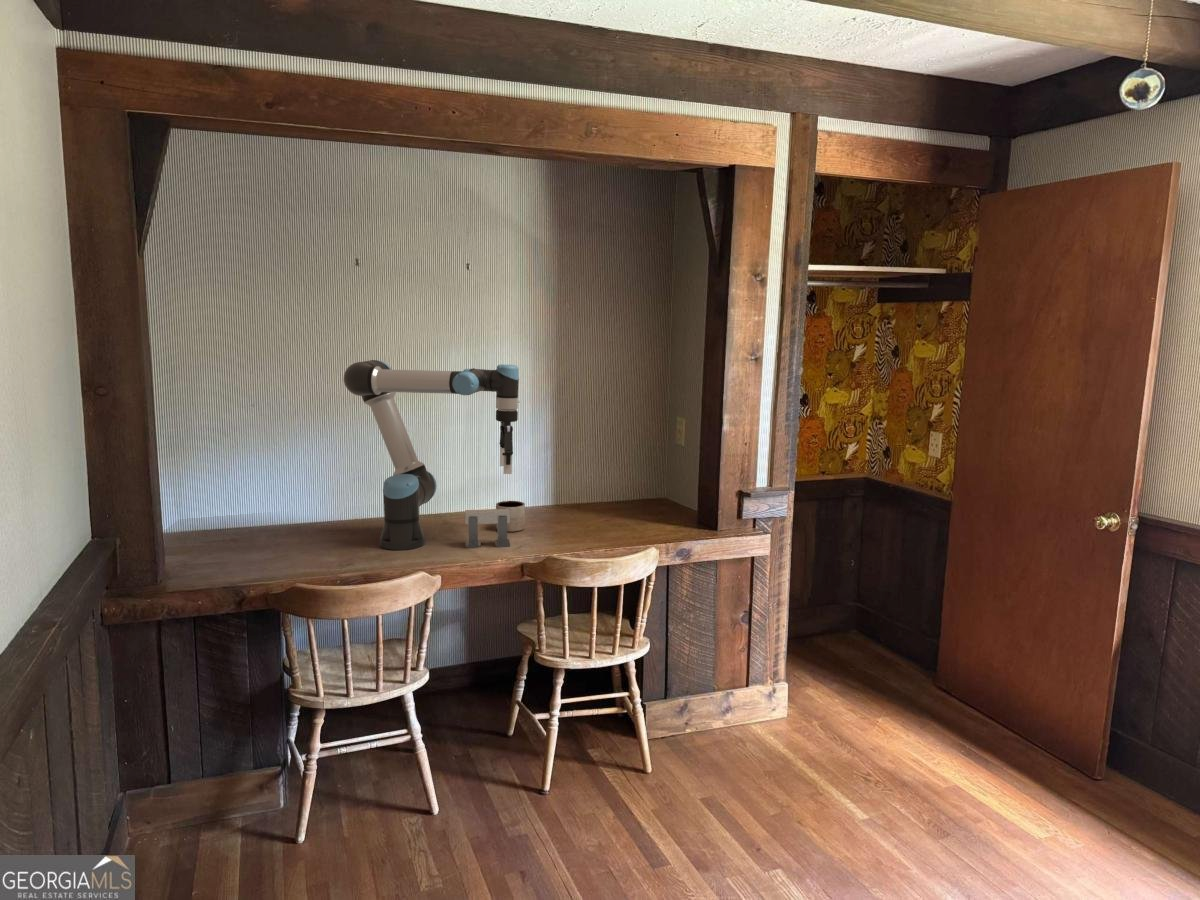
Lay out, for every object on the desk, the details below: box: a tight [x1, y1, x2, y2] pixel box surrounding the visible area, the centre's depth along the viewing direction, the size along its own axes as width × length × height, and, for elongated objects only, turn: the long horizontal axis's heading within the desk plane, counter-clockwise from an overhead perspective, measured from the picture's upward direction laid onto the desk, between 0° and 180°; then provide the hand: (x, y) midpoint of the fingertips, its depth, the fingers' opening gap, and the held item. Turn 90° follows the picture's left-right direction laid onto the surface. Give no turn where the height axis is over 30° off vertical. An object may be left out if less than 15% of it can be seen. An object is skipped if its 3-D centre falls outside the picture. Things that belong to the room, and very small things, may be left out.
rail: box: [464, 508, 510, 525], centre depth 273 cm, size 15×4×4 cm, turn 100°
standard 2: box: [494, 517, 511, 548], centre depth 274 cm, size 5×7×10 cm
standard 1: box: [465, 517, 482, 549], centre depth 273 cm, size 5×7×10 cm
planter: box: [495, 500, 526, 533], centre depth 295 cm, size 11×11×10 cm
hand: (505, 470), depth 278 cm, fingers open, 13 cm apart
